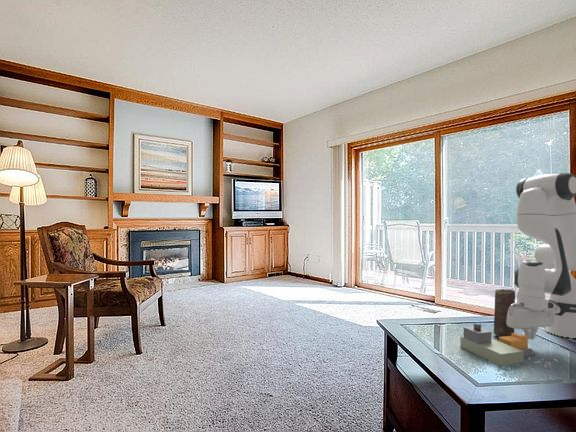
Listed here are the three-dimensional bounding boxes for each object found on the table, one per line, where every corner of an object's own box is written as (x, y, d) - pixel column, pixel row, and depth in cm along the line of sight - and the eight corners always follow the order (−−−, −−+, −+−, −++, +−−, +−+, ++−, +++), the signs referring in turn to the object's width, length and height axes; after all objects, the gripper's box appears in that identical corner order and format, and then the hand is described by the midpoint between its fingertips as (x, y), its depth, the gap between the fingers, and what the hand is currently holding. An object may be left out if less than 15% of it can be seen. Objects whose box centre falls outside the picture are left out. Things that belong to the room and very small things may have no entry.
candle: (517, 341, 141) (518, 292, 141) (497, 339, 143) (498, 291, 143) (509, 335, 149) (510, 288, 149) (490, 333, 150) (491, 287, 150)
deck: (500, 342, 140) (501, 317, 140) (545, 359, 123) (545, 331, 123) (460, 346, 134) (460, 320, 134) (500, 366, 117) (501, 336, 117)
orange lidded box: (515, 348, 134) (515, 332, 134) (527, 353, 129) (527, 337, 129) (499, 350, 132) (499, 334, 132) (510, 355, 127) (511, 338, 127)
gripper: (517, 305, 128) (516, 343, 128) (558, 303, 133) (557, 339, 133) (502, 301, 134) (501, 337, 134) (542, 300, 140) (541, 334, 139)
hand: (529, 338), depth 134 cm, fingers closed
